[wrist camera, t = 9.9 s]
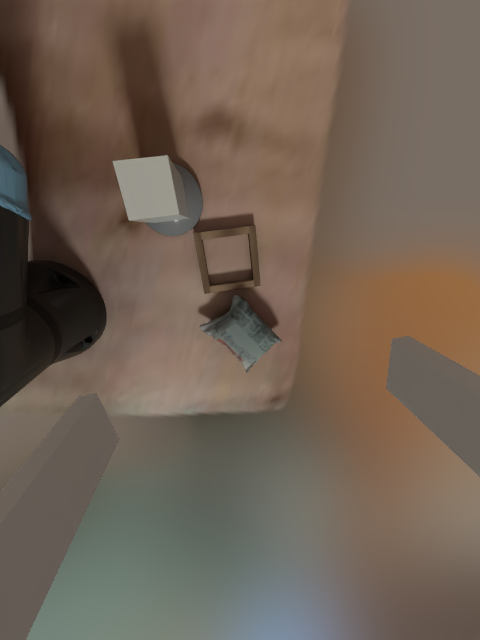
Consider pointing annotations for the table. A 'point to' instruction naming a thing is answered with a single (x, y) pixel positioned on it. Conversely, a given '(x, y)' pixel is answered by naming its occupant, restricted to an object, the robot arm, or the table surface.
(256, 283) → the walnut holder
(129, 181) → the grey block
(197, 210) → the grey disc
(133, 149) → the table surface
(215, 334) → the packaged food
